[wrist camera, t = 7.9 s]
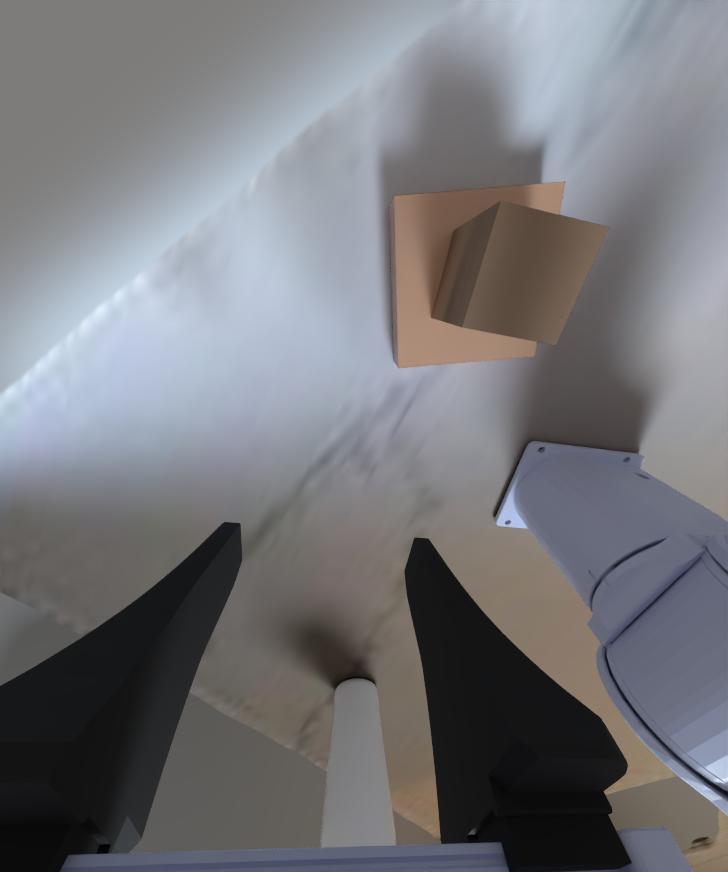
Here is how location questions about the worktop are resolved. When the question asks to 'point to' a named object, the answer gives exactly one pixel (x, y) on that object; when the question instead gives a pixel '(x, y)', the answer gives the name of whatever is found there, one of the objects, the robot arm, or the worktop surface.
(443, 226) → the terracotta tile
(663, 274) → the worktop surface
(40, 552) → the worktop surface
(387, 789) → the drinking glass
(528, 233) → the walnut block
